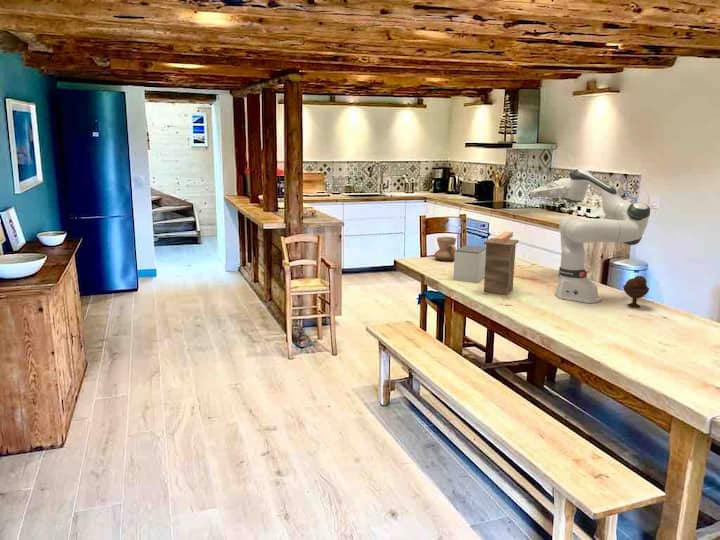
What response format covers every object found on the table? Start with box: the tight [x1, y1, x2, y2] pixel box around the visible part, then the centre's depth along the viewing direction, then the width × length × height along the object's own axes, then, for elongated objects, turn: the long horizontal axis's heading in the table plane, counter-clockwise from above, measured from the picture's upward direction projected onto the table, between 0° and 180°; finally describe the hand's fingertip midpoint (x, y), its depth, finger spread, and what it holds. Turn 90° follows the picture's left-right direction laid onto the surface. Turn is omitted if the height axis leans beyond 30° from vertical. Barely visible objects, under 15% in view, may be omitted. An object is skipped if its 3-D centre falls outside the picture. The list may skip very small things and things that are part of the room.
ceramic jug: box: [434, 236, 457, 262], centre depth 380 cm, size 18×14×14 cm
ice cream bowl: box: [622, 275, 650, 309], centre depth 281 cm, size 11×11×15 cm
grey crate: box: [452, 244, 486, 283], centre depth 333 cm, size 18×14×16 cm
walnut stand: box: [483, 237, 519, 296], centre depth 305 cm, size 14×14×26 cm
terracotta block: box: [493, 231, 514, 244], centre depth 306 cm, size 23×4×2 cm, turn 153°
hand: (541, 194), depth 319 cm, fingers open, 8 cm apart
